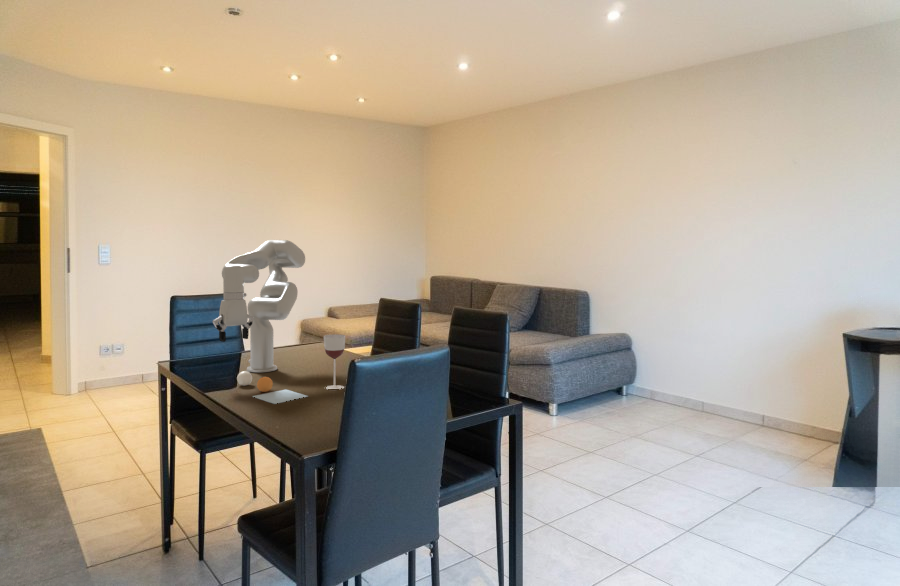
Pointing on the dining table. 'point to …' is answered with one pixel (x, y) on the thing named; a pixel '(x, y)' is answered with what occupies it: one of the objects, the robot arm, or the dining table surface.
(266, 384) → the orange ball
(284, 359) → the dining table surface
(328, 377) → the dining table surface
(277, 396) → the blue mark
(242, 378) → the cue ball
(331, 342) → the wineglass
